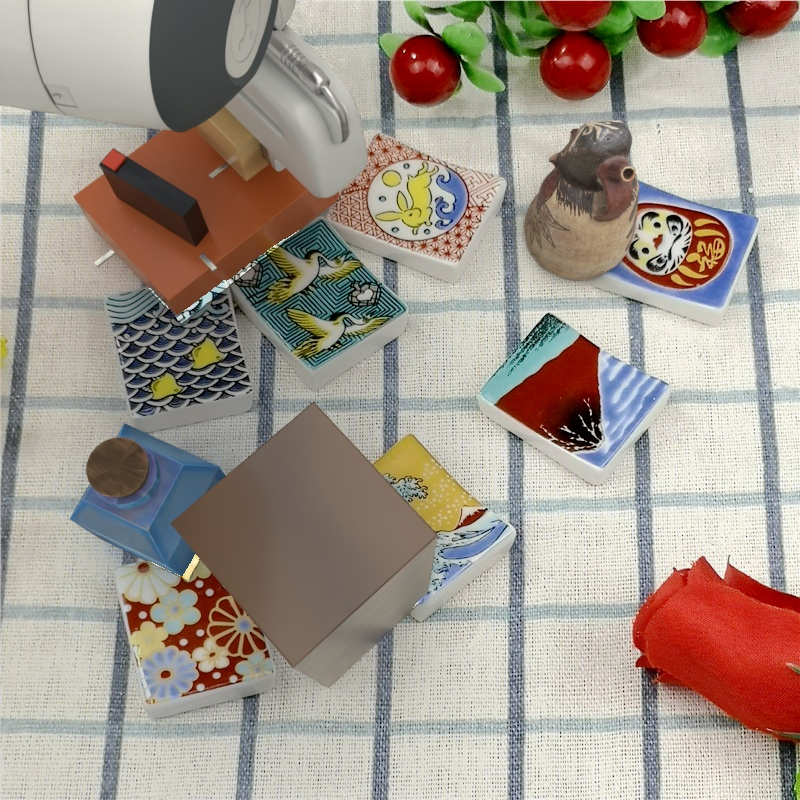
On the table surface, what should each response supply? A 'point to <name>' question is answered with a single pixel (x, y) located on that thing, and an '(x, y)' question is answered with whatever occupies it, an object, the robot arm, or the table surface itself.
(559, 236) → the figurine
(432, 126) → the table surface
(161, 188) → the black battery block
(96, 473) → the perfume bottle
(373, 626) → the block
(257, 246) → the block
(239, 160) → the wood block
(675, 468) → the table surface
